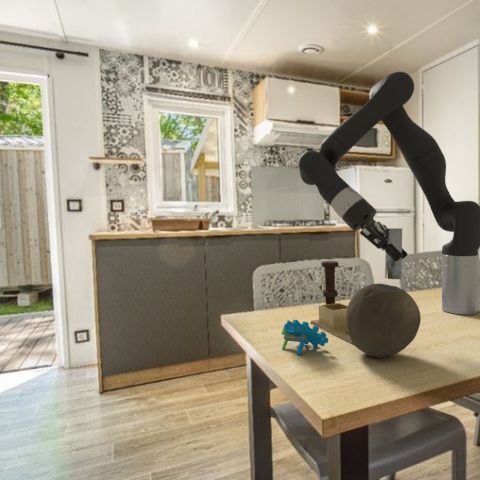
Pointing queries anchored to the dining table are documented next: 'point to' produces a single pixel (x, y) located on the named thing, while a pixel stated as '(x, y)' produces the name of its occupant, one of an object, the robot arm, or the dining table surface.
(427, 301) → the dining table surface
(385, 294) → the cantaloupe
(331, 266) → the bolt
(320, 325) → the hinge leaf
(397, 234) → the pin
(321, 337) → the blue lobed toy
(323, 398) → the dining table surface
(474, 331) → the dining table surface
